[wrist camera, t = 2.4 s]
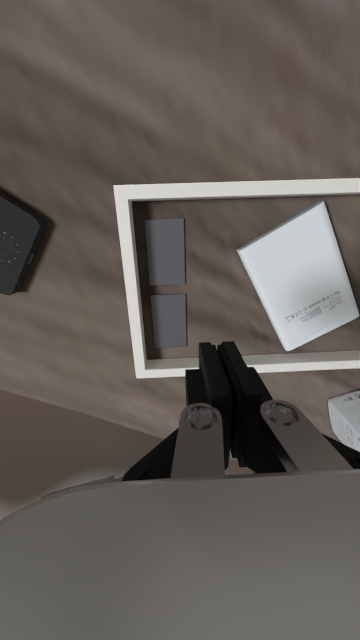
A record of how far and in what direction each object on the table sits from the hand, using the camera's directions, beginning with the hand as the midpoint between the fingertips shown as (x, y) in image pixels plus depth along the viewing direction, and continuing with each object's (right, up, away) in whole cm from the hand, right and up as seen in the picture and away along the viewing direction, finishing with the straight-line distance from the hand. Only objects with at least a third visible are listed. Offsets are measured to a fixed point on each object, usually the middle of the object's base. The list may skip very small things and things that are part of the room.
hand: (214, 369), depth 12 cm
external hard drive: (+10, +6, +13) cm, 18 cm away
